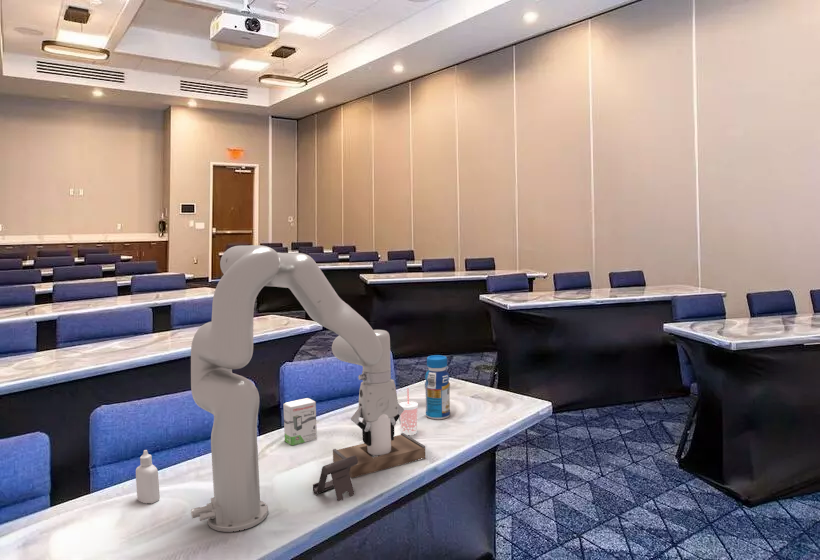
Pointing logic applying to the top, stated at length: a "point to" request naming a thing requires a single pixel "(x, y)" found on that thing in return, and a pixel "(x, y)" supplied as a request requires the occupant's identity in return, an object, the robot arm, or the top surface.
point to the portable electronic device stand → (337, 477)
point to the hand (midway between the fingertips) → (378, 440)
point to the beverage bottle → (437, 388)
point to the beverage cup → (409, 416)
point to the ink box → (300, 421)
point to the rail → (400, 453)
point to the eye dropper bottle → (147, 480)
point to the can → (380, 436)
